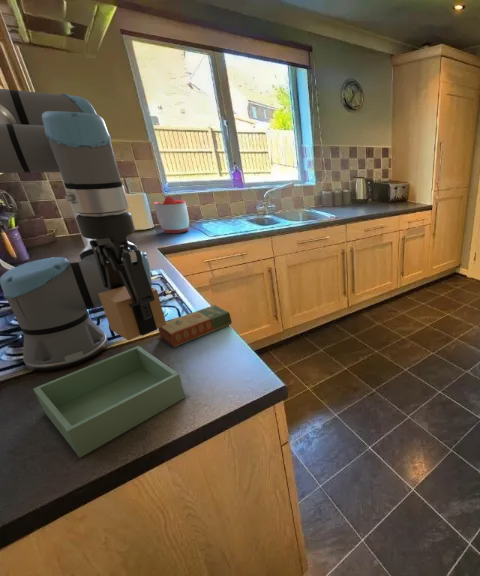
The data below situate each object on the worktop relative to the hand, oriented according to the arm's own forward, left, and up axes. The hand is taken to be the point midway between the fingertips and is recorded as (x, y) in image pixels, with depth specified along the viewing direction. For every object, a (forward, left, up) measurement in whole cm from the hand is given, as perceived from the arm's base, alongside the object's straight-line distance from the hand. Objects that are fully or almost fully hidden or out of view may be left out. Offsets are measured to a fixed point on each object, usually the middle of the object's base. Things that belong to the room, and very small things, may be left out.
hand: (138, 326), depth 66 cm
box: (0, 0, 0) cm, 0 cm away
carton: (-15, +18, -15) cm, 27 cm away
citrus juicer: (-131, +70, -15) cm, 149 cm away
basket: (0, -7, -15) cm, 17 cm away
